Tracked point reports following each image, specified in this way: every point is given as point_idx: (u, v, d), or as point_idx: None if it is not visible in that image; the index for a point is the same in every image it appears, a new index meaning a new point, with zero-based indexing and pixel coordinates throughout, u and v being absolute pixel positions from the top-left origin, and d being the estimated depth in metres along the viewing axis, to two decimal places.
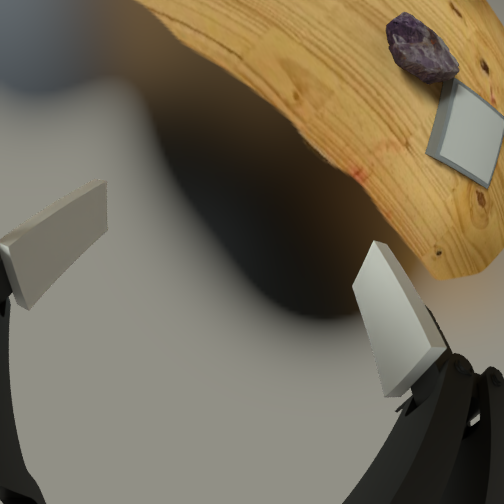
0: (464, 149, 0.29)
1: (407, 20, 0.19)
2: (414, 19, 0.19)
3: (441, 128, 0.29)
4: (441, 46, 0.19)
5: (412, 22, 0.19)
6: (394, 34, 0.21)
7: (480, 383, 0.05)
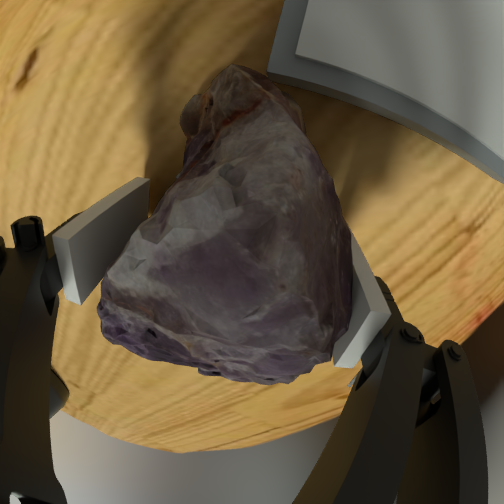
0: None
1: None
2: (107, 324, 0.09)
3: (469, 155, 0.08)
4: (153, 295, 0.06)
5: (124, 340, 0.09)
6: (200, 373, 0.11)
7: (436, 359, 0.06)
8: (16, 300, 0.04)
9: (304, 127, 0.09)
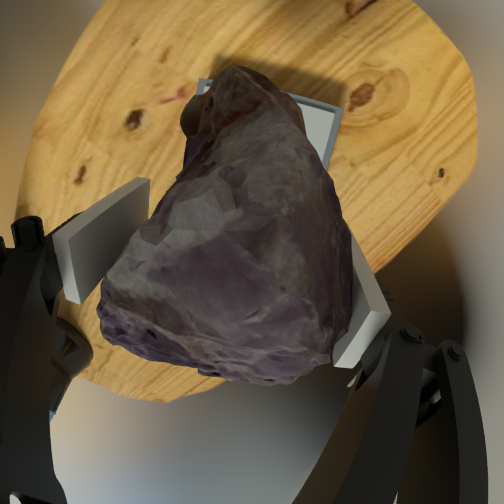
0: None
1: None
2: (107, 324, 0.09)
3: None
4: (153, 296, 0.06)
5: (124, 340, 0.09)
6: (200, 373, 0.11)
7: (436, 359, 0.06)
8: (16, 300, 0.04)
9: (304, 128, 0.09)
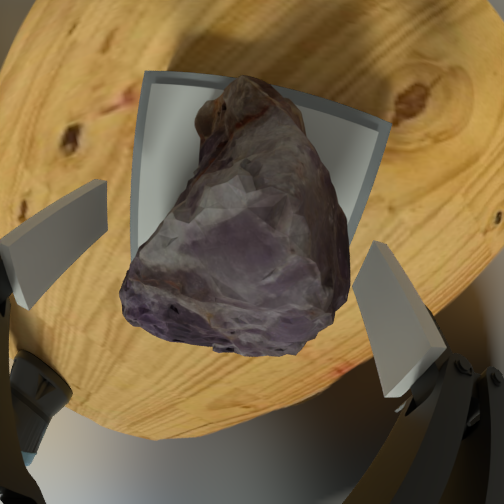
0: None
1: None
2: (130, 305, 0.11)
3: None
4: (183, 268, 0.08)
5: (146, 319, 0.11)
6: (215, 350, 0.12)
7: (480, 383, 0.05)
8: None
9: (304, 128, 0.11)
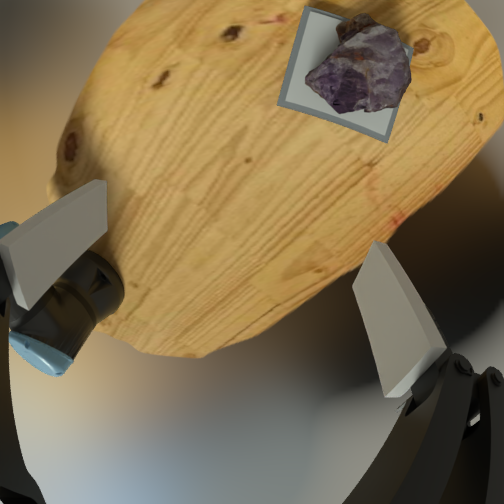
0: None
1: (327, 85, 0.20)
2: (322, 73, 0.20)
3: None
4: (364, 46, 0.16)
5: (331, 79, 0.20)
6: (355, 108, 0.21)
7: (480, 383, 0.05)
8: None
9: None
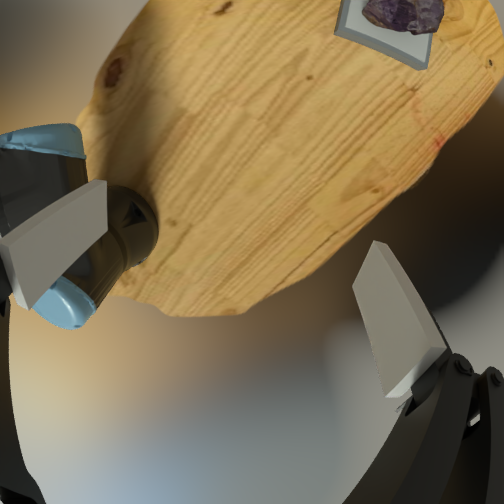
0: None
1: (387, 7, 0.17)
2: None
3: (398, 55, 0.25)
4: None
5: (390, 4, 0.17)
6: (409, 27, 0.18)
7: (480, 383, 0.05)
8: None
9: None
